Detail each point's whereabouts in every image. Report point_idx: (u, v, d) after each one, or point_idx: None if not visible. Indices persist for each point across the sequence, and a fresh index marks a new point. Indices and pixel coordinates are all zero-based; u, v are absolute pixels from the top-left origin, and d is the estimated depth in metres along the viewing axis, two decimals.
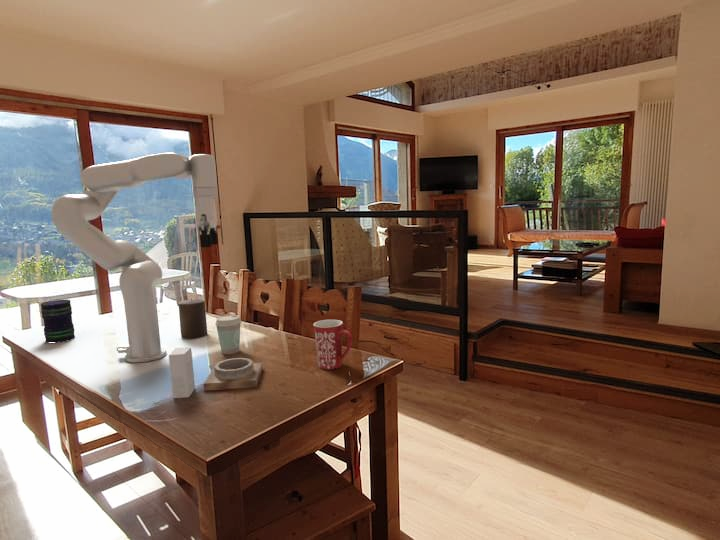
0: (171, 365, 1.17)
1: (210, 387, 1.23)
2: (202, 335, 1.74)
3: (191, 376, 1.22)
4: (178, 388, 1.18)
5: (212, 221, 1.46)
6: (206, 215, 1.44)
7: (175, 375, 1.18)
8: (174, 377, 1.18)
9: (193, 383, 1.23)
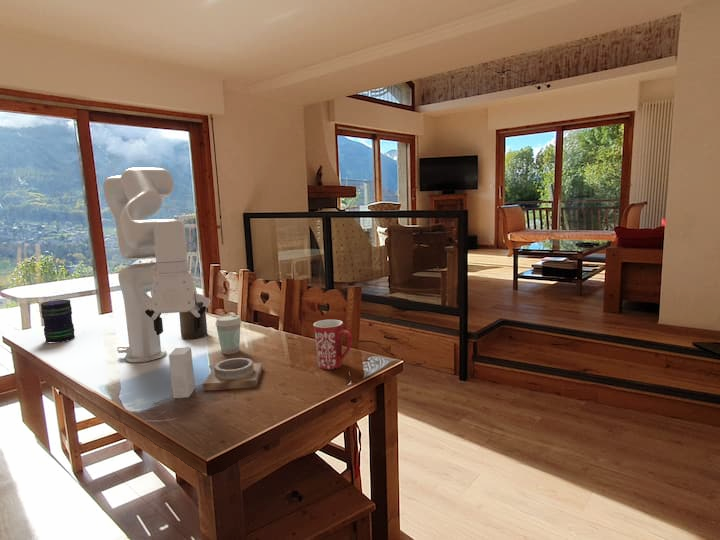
0: (171, 365, 1.17)
1: (210, 387, 1.23)
2: (202, 335, 1.74)
3: (191, 376, 1.22)
4: (178, 388, 1.18)
5: None
6: (195, 293, 1.19)
7: (175, 375, 1.18)
8: (174, 377, 1.18)
9: (193, 383, 1.23)
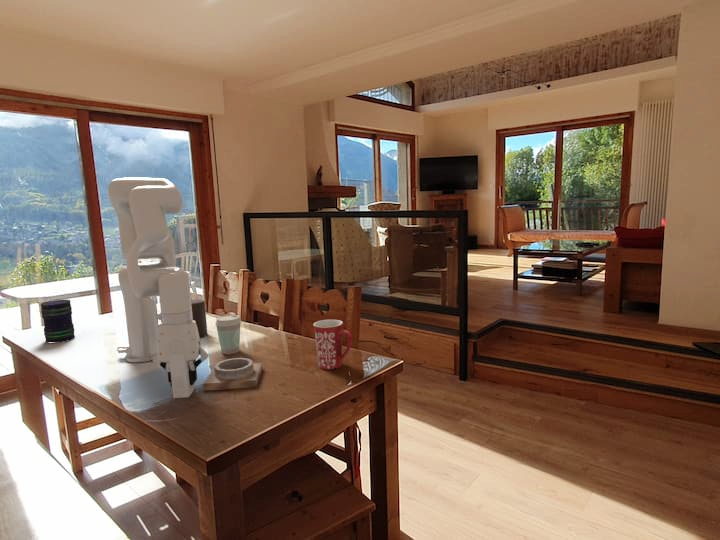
0: (171, 365, 1.17)
1: (210, 387, 1.23)
2: (202, 335, 1.74)
3: None
4: (178, 388, 1.18)
5: None
6: (199, 341, 1.21)
7: (175, 375, 1.18)
8: (174, 377, 1.18)
9: None
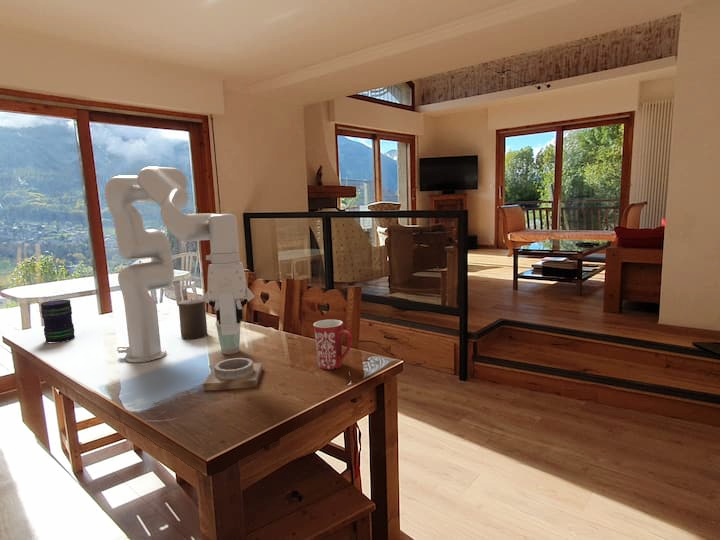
0: (220, 303, 1.24)
1: (210, 387, 1.23)
2: (202, 335, 1.74)
3: None
4: (226, 325, 1.25)
5: None
6: None
7: (224, 313, 1.25)
8: (222, 314, 1.25)
9: (239, 323, 1.30)
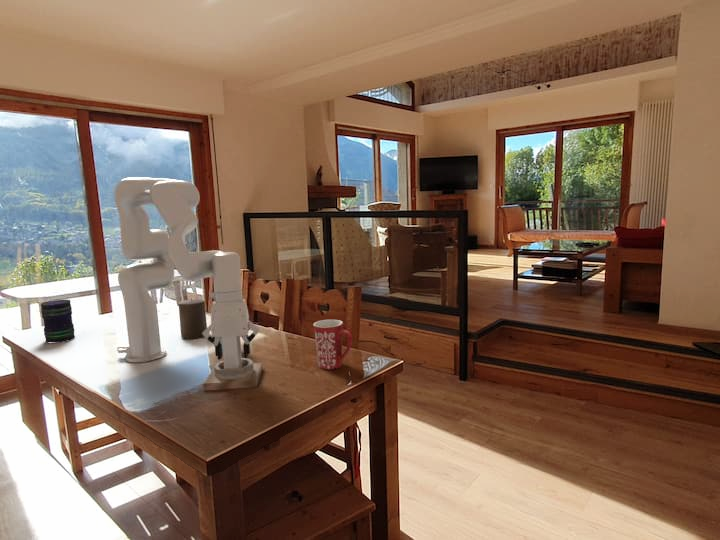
0: (223, 345, 1.26)
1: (210, 387, 1.23)
2: (202, 335, 1.74)
3: (240, 356, 1.31)
4: (229, 367, 1.27)
5: None
6: None
7: (227, 355, 1.27)
8: (225, 356, 1.27)
9: (241, 363, 1.32)
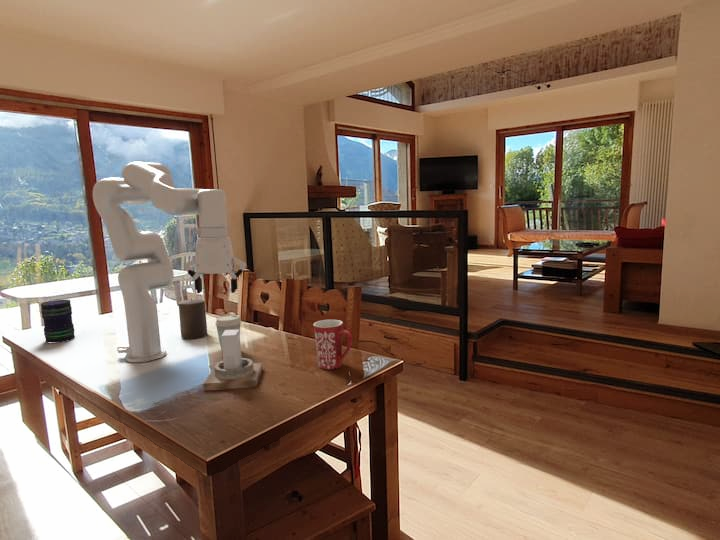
0: (223, 345, 1.26)
1: (210, 387, 1.23)
2: (202, 335, 1.74)
3: (240, 356, 1.30)
4: (229, 367, 1.27)
5: None
6: (233, 257, 1.31)
7: (227, 355, 1.27)
8: (225, 356, 1.27)
9: (241, 363, 1.32)
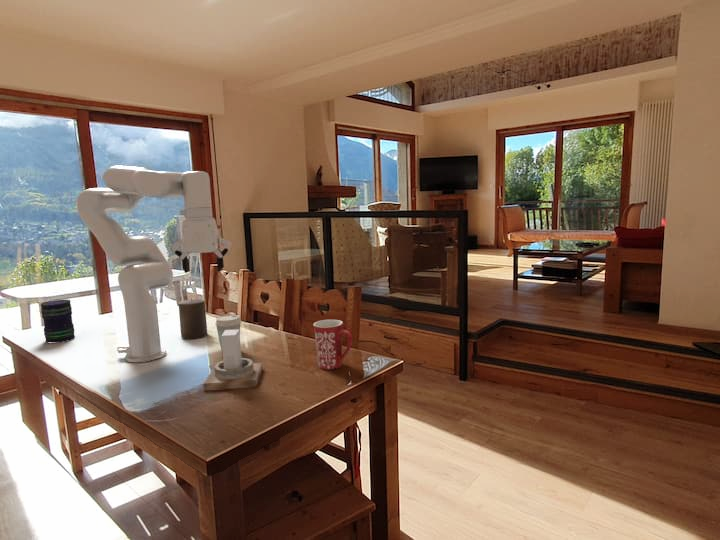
0: (223, 345, 1.26)
1: (210, 387, 1.23)
2: (202, 335, 1.74)
3: (240, 356, 1.30)
4: (229, 367, 1.27)
5: None
6: (218, 237, 1.36)
7: (227, 355, 1.27)
8: (225, 356, 1.27)
9: (241, 363, 1.32)
